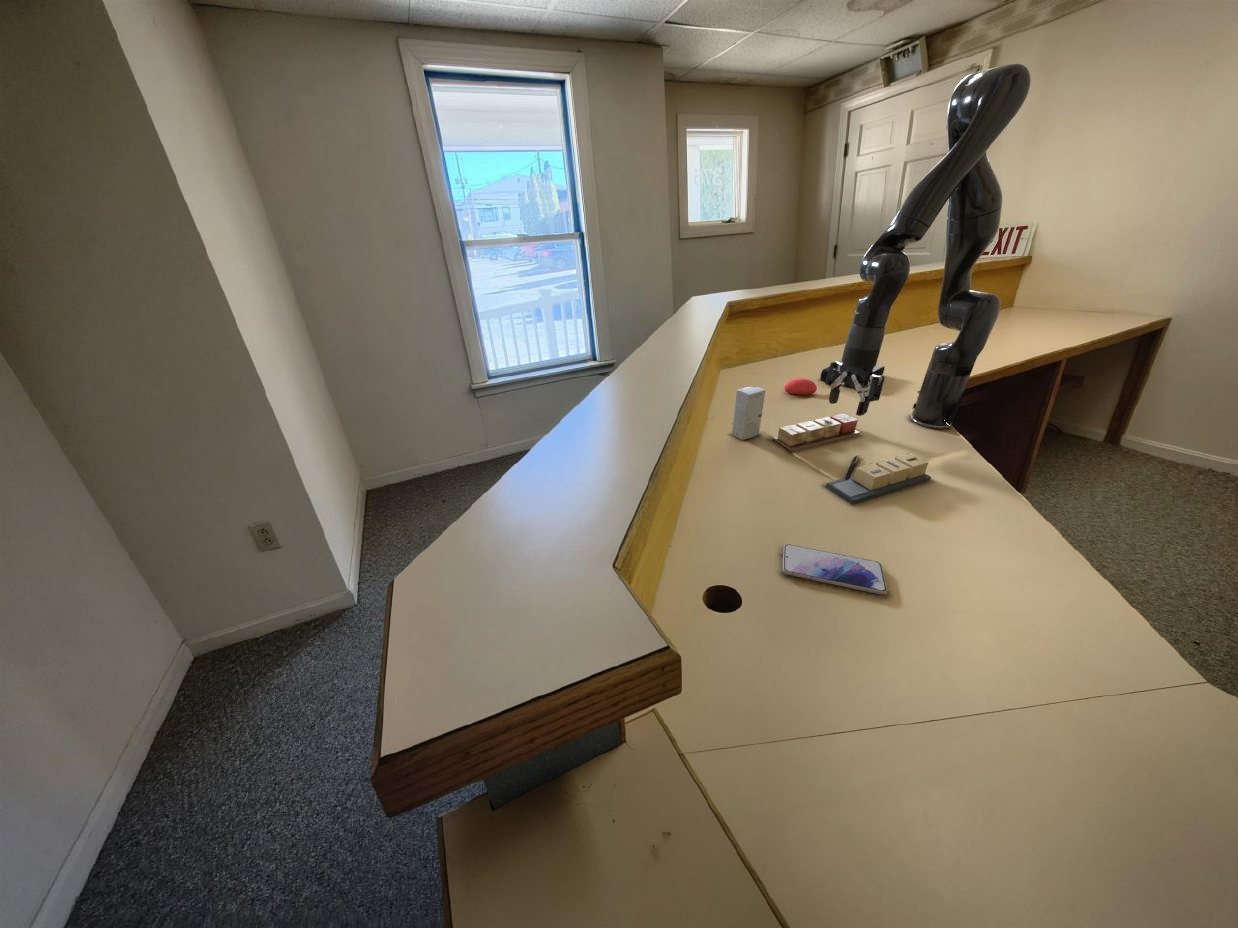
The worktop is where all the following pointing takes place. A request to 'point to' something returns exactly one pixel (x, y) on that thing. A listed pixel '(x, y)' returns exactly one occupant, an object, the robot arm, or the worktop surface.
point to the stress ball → (800, 386)
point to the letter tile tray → (810, 433)
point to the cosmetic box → (748, 412)
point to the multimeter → (877, 371)
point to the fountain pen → (852, 467)
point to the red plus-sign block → (845, 422)
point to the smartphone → (834, 569)
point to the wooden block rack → (881, 478)
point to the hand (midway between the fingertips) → (845, 408)
